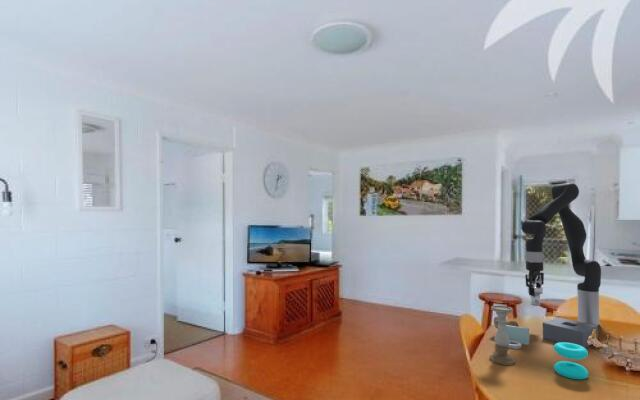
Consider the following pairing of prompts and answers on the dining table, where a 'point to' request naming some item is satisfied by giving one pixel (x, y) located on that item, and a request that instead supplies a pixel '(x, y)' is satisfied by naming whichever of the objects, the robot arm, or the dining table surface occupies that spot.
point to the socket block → (568, 331)
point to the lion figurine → (510, 323)
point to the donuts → (569, 367)
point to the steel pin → (536, 296)
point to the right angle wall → (517, 336)
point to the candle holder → (502, 337)
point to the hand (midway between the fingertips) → (535, 294)
